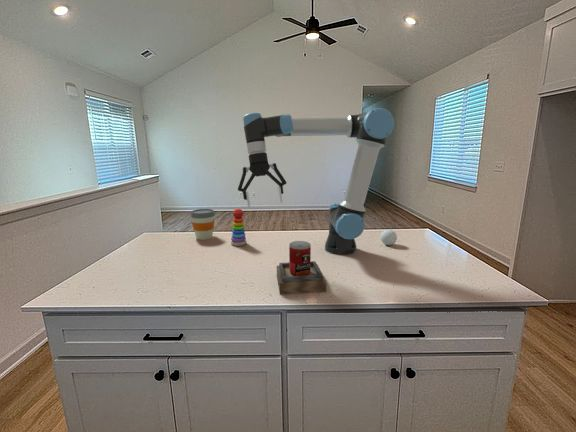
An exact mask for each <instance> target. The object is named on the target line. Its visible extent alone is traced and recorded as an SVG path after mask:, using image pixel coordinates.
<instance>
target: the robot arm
mask: <svg viewBox="0 0 576 432" xmlns="http://www.w3.org/2000/svg"><path fill="white" fill-rule="evenodd" d="M242 121H243V129H244V135H245V140H246V141H245V142H246V148H247V153H248V161H249V167H248V166H247V167H246V166H244V167H242V174H241V178H240V182H239V183H238V187H237V191H239V192H241V193H242V196H243V200H246V205H247V208H251V202H250V197H249V191H247V190H248V189H249V187H250V185H251V183H252V182H253V180H254V178H255V177H264V176H267V177H269V178H270V179H271V180H272V181H273V182H274V183H275V184H276V185H277V186H276V187H277V195H278V202H279V203H283V196H282V195H283V194H284V185H287V182H288V181H286V179H285V178H284V176H283V175H282V173H281V172H280V170H279V169H278V166H277V163H275V162H274V163H272V164H270V163H269V160H268V153H267V152H266V151H267V147H266V146H267V145H266V140H265V138H268V137H277V138H278V137H279V138H280V137H305V136H306V137H312V136H313V137H316V136H319V137H321V136H328V137H329V136H346V137H347V138H351V139H352V138H354V139H355V138H356V142H357V145H358V146H357V150H356V153H355V158H354V159H353V164H352V169H351V171H350V176H349V180H348V182H347V187H346V191H345V193H344V197H343V200H342V201H341V202H332V203H330V204H329V208H328V210H329V212H328V213H329V214H328V215H329V216H328V218H329V219H328V222H329V223H328V236H327V238H326V240H325V243H324V250H325V251H326V252H327V253H331V254H334V255H351V254H354V253H355V252H357V244H356V243H357V242H356V240H355V239H357V238H358V237H360V236H361V235H362V234H363V232H364V231H365V220H364V218H365V215H366V211H367V210H366V207H364V204H365V202H366V198H367V195H368V190H369V188H370V184H371V182H372V181H371V180H372V176H373V175H374V170H375V166H376V164H377V159H378V156H379V153H380V150H381V149H382V148H384V147H385V145H386V142H387V140H388V139H387V138H388V137H389V136H390V134H391V133H392V132H393V130H394V127H395V120H394V116H393V114H392V112H390V111H389V110H388V109H387V108H384V107H375V108H371V109H369V110H368V111H365V112H363V113H359V114H349V115H347V117H316V118H315V117H311V118H307V117H305V118H303V117H302V118H292V116H291V114H290V113H289V114H280V115H274V116H268V117H267V116H266V117H263V116H262V114H261V113H259V112H252V113H247V114H245V115H243V118H242ZM270 168H271V169H272V170H273V171H274V173H275V174H276V176H277V177H278V178H279V180H278V178H276V176H274V175H273V174H272V172H270V170H269V169H270ZM249 171H250V172H251V175H250V177H249V178H248V180H247V182H246V183H245V185H244V181H245V179H246V176H247V173H248V172H249Z"/></svg>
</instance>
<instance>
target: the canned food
mask: <svg viewBox="0 0 576 432" xmlns="http://www.w3.org/2000/svg"><path fill="white" fill-rule="evenodd" d="M288 246H289V248H288V249H289V254H288V255H289V260H288V262H289V266H290V273H291V274H292V275H293V276H307V275H309V274H310V261H312V260H311V256H312V255H311V254H312V252H311V249H312V248H311V247H312V245H311V243H310V242H308V241H305V240H295V241H291V242H290V243H289V245H288Z"/></svg>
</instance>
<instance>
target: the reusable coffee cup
mask: <svg viewBox="0 0 576 432" xmlns="http://www.w3.org/2000/svg"><path fill="white" fill-rule="evenodd" d="M190 218H191V220H192V221H191V224H192V229H193V230H194V235H195V238H196V239H197V240H210V239H212V238H213V237H214V236H213V235H214V234H213V233H214V228H215V210H214V209H211V208H199V209H194V210H191V211H190Z"/></svg>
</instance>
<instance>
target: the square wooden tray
mask: <svg viewBox="0 0 576 432" xmlns="http://www.w3.org/2000/svg"><path fill="white" fill-rule="evenodd" d="M276 279H277V285H278V291H279V295H290V294H294V295H295V294H306V293H307V294H309V293H312V294H313V293H326V292H327V280H326V278H325V275H324V274H323V272H322V271H321V268H320V267H319V265H318V263H317V262H316V261H315V260H314V261H312V260H311V261H310V274H309V275H307V276H293V275H292V274H291V273H290V266H289V261H288V262H287V261H286V262H279V263H278V265H276Z"/></svg>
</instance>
